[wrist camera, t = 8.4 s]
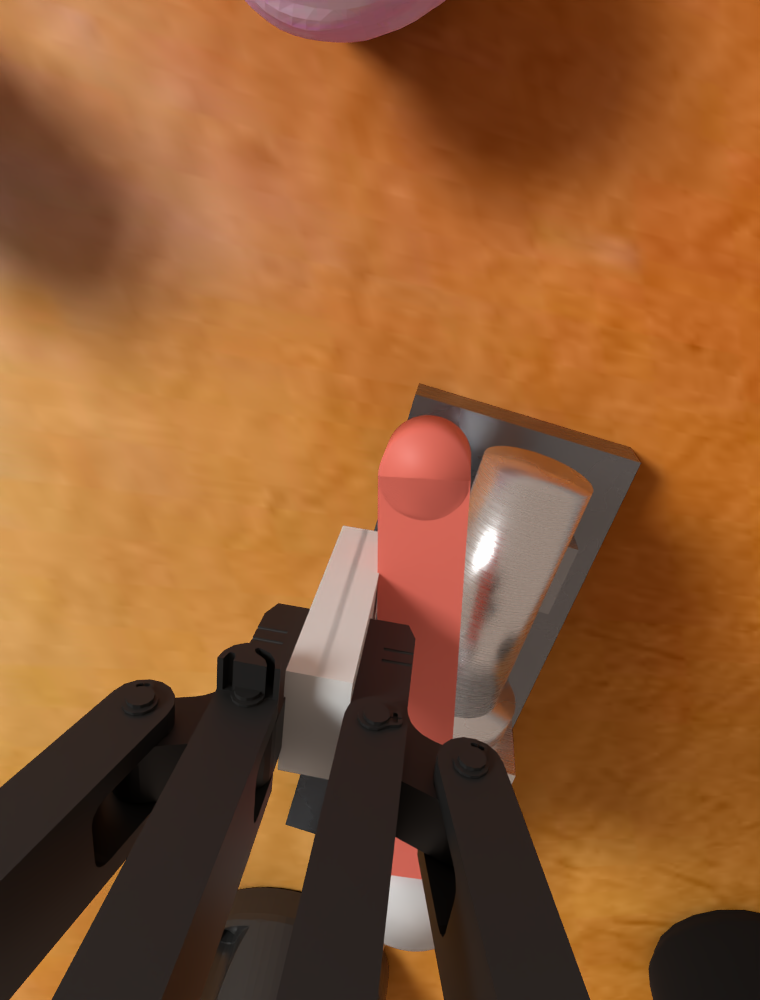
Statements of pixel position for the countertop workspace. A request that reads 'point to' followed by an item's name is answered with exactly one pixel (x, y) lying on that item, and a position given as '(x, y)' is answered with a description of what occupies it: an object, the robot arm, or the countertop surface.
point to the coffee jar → (708, 958)
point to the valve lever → (423, 608)
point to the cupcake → (342, 17)
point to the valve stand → (513, 560)
